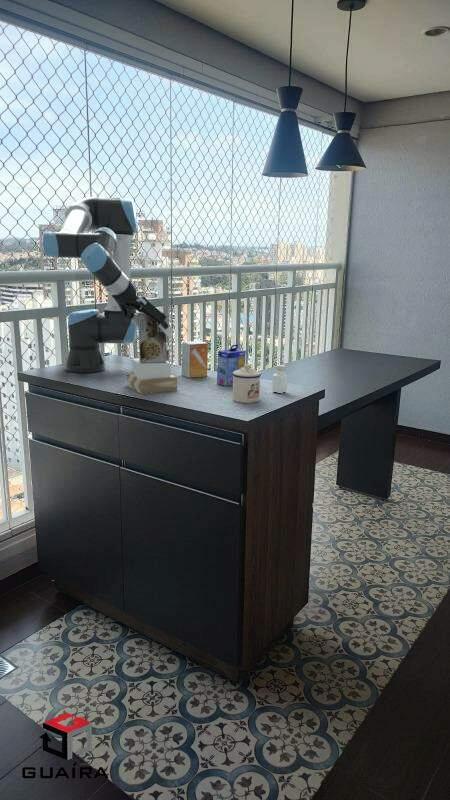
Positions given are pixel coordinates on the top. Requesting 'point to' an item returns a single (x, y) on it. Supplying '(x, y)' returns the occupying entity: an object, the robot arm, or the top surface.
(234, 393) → the teacup with lid
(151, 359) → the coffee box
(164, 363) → the tower top
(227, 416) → the top surface
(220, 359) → the blue upright box
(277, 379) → the pepper shaker
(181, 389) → the top surface
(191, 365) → the small box
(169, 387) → the tower base
